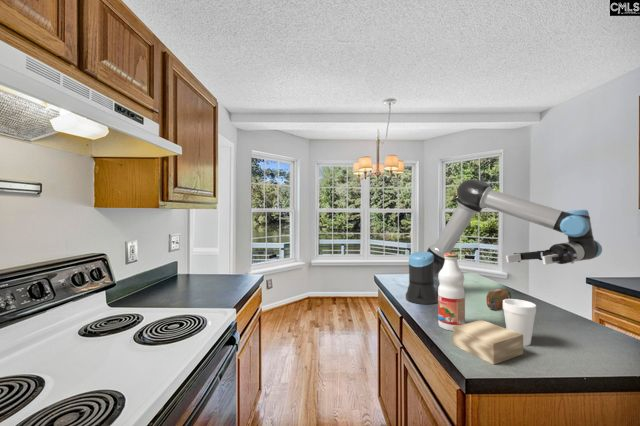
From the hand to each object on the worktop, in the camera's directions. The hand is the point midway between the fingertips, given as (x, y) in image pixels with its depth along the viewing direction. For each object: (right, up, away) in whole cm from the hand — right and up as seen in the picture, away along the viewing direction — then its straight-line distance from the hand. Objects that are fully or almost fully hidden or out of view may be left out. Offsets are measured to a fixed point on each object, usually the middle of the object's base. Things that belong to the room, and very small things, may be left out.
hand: (524, 259), depth 105 cm
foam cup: (-5, -27, -5) cm, 28 cm away
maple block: (-19, -27, -11) cm, 35 cm away
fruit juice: (-23, -27, +8) cm, 36 cm away
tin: (+8, -27, +29) cm, 40 cm away
